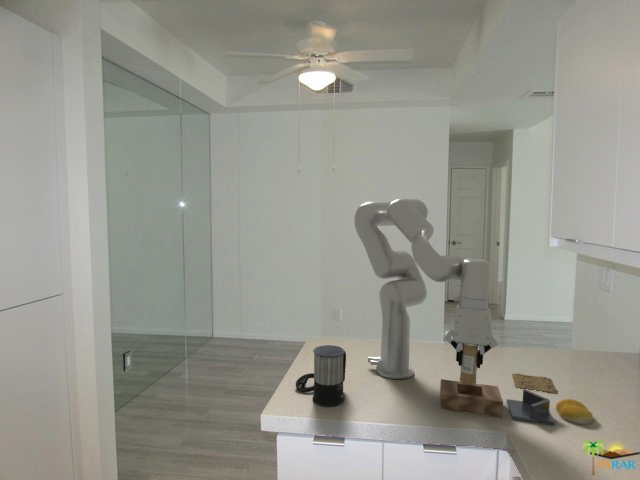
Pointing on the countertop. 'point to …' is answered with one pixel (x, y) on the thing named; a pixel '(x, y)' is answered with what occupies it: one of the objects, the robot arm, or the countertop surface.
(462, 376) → the sprinkles bottle
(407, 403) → the countertop surface
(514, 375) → the cookie
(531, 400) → the v block
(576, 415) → the bread roll
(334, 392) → the milk frother
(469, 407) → the wooden block with hole
